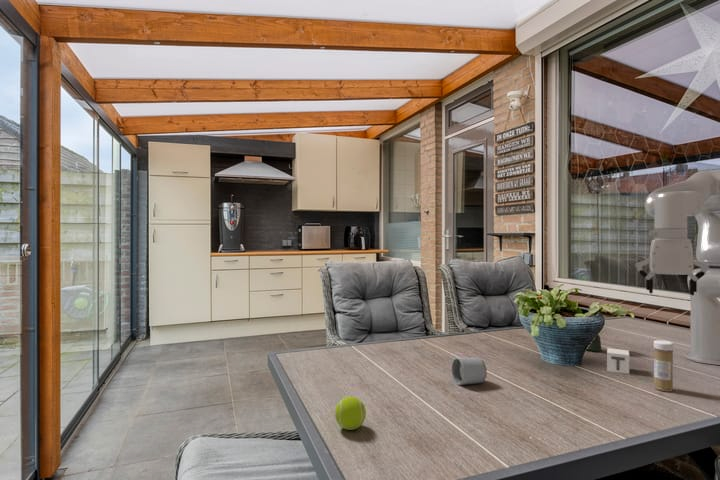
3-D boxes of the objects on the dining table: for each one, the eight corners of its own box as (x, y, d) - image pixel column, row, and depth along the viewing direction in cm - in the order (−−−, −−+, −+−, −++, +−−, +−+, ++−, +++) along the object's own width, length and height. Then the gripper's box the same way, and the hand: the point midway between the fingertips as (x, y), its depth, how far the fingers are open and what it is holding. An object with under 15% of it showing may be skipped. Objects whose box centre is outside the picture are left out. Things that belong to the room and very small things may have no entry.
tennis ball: (335, 436, 94) (334, 404, 94) (335, 421, 101) (335, 392, 101) (366, 435, 94) (366, 403, 94) (364, 421, 101) (364, 391, 101)
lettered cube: (607, 366, 142) (607, 348, 142) (628, 369, 139) (628, 350, 139) (606, 371, 136) (607, 352, 136) (629, 374, 133) (629, 355, 133)
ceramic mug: (488, 385, 124) (488, 359, 124) (463, 388, 122) (462, 361, 122) (470, 374, 134) (469, 350, 134) (446, 377, 132) (446, 352, 132)
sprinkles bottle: (675, 389, 120) (676, 342, 120) (669, 393, 117) (669, 344, 117) (657, 385, 124) (657, 338, 123) (650, 388, 121) (650, 341, 121)
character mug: (592, 346, 166) (592, 312, 166) (610, 350, 160) (610, 315, 160) (573, 349, 162) (573, 315, 161) (590, 354, 155) (591, 318, 155)
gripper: (635, 235, 125) (635, 294, 125) (711, 234, 116) (711, 297, 116) (634, 234, 131) (634, 290, 132) (706, 233, 122) (706, 293, 123)
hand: (670, 293), depth 124 cm, fingers open, 9 cm apart
